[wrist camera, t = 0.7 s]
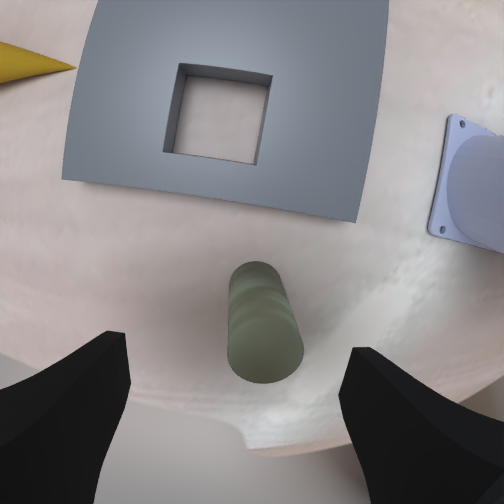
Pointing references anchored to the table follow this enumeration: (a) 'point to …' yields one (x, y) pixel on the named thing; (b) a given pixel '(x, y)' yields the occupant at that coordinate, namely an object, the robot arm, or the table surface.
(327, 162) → the pin board
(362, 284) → the table surface
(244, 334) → the sage green pin
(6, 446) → the robot arm
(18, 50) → the ice cream cone
